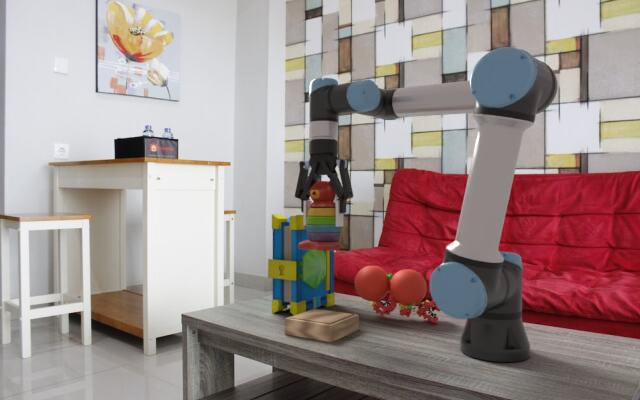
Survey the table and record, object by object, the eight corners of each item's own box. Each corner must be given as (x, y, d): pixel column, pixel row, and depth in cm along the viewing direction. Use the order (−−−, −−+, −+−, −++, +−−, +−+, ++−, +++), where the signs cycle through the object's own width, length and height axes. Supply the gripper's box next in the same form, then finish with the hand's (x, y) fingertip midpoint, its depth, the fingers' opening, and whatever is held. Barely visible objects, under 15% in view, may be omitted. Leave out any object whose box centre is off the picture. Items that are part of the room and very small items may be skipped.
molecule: (349, 321, 145) (349, 267, 145) (360, 313, 155) (360, 262, 155) (439, 329, 137) (439, 271, 137) (444, 320, 147) (444, 266, 147)
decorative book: (263, 313, 155) (263, 214, 155) (308, 300, 174) (308, 212, 174) (301, 319, 147) (301, 215, 147) (344, 305, 166) (344, 213, 166)
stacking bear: (294, 248, 134) (294, 180, 133) (320, 246, 141) (321, 181, 141) (325, 251, 126) (325, 179, 126) (351, 248, 134) (351, 180, 133)
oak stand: (358, 329, 136) (358, 313, 136) (331, 342, 124) (331, 324, 124) (314, 322, 143) (314, 307, 143) (284, 334, 131) (284, 317, 131)
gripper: (367, 138, 130) (367, 226, 131) (297, 143, 142) (297, 223, 143) (353, 135, 124) (352, 228, 124) (281, 140, 136) (280, 225, 136)
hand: (323, 225), depth 133 cm, fingers closed on stacking bear, 9 cm apart
